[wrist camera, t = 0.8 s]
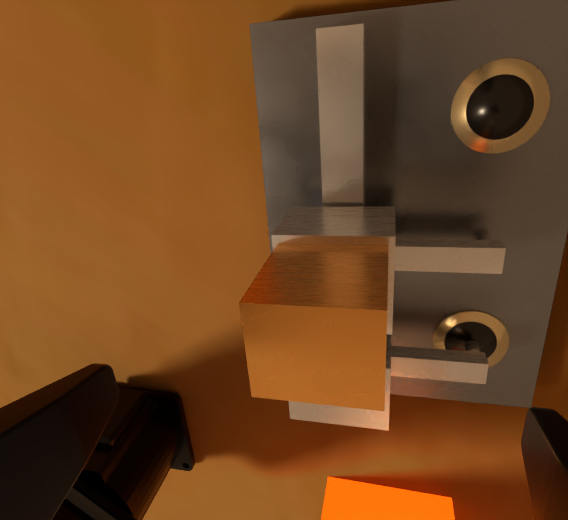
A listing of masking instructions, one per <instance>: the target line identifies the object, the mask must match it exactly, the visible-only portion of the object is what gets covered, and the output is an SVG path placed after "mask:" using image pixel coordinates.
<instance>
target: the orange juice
mask: <svg viewBox="0 0 568 520" xmlns="http://www.w3.org/2000/svg"><path fill="white" fill-rule="evenodd" d="M321 520H455V517H454V510H453V503H452V498H450V497H445V496H439V495H433V494H427V493H421V492H415V491H410V490H404V489H398V488H392V487H386V486H381V485H375V484H369V483H363V482H357V481H351V480H345V479H340V478H334V477H328V479H327V485H326V492H325V498H324V504H323V511H322V517H321Z"/></svg>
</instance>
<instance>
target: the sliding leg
mask: <svg viewBox="0 0 568 520" xmlns="http://www.w3.org/2000/svg"><path fill="white" fill-rule="evenodd" d="M271 238H272V249H273V252H272V253H271V255H270V256H269V258H268V259H267V261H266V262H265V264H264V265H263V267H262V268H261V270H260V271H259V273H258V275H257V276H256V278H255V279H254V281H253V282H252V284H251V285H250V287H249V288H248V290H247V291H246V293H245V294H244V296H243V298H242V299H241V301H240V302H239V306H240V314H241V321H242V329H243V336H244V344H245V351H246V359H247V366H248V374H249V381H250V389H251V396H252V397H257V398H267V399H276V400H285V401H294V402H303V403H312V404H322V405H331V406H340V407H349V408H358V409H367V410H377V411H384V410H385V375H386V340H387V334H391V335H392V326H393V297H394V271H422V272H454V273H486V274H502V271H503V264H504V257H505V251H506V248H505V246H504V245H503V243H502V241H501V240H493V239H492V237H491V236H489V235H481V236H479V237H478V238H477V240H457V239H396V232H395V206H387V207H291V209H290V210H289V211H288V213H287V214H286V215H285V217H284V218H283V220H282V221H281V222H280V224H279V225H278V226H277V228H276V229H275V231H274V232H273V233H272V235H271Z"/></svg>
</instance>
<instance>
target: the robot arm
mask: <svg viewBox="0 0 568 520" xmlns="http://www.w3.org/2000/svg"><path fill="white" fill-rule="evenodd" d="M521 447H522V455H523V460H524V465H525V470H526V475H527V480H528V485H529V490H530V495H531V500H532V505H533V510H534V516H535V520H568V421H567V420H566V419H565V418H564V417H563V416H561V415H560V414H559V413H558V412H557V411H555V410H553V409H547V408H537V407H532V408H529V410H528V411H527V415H526V420H525V425H524V430H523V435H522V441H521ZM194 465H195V460H194V455H193V451H192V446H191V442H190V437H189V432H188V428H187V423H186V419H185V414H184V410H183V405H182V400H181V398H180V396H179V395H178V394H176V393H172V392H163V391H154V390H145V389H136V388H127V387H119V386H117V382H116V379H115V376H114V372H113V369H112V368H111V367H110V366H109V365H107V364H97V363H96V364H91V365H89V366H87V367H84V368H82V369H80V370H78V371H76V372H74V373H72V374H70V375H68V376H66V377H64V378H62V379H60V380H58V381H55V382H53V383H51V384H49V385H47V386H45V387H43V388H41V389H39V390H37V391H35V392H33V393H31V394H29V395H26V396H24V397H22V398H20V399H18V400H16V401H14V402H12V403H10V404H8V405H6V406H4V407H2V408H0V520H142V519H143V517H144V515H145V513H146V512H147V510H148V508H149V506H150V504H151V503H152V501H153V499H154V497H155V495H156V494H157V492H158V490H159V488H160V486H161V485H162V483H163V481H164V479H165V477H166V476H167V474H168V472H169V470H170V468H172V469H178V470H185V471H190V470H192V469H193V467H194Z"/></svg>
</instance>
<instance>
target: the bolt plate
mask: <svg viewBox="0 0 568 520" xmlns="http://www.w3.org/2000/svg"><path fill="white" fill-rule="evenodd" d="M250 34H251V45H252V56H253V67H254V77H255V88H256V99H257V109H258V120H259V131H260V142H261V152H262V163H263V174H264V184H265V195H266V206H267V216H268V227H269V238H270V249H271V253H272V252H273V249H272V238H271V235H272V233H273V232H274V231H275V229H276V228H277V226H278V225H279V224H280V222H281V221H282V220H283V218H284V217H285V215H286V214H287V213H288V211H289V210H290V209H291V207H387V206H395V232H396V239H457V240H477V238H478V237H479V236H481V235H489V236H491V237H492V239H493V240H501V241H502V243H503V245H504V246H505V248H506V251H505V257H504V264H503V271H502V274H486V273H454V272H422V271H394V297H393V326H392V335H391V334H387V340H386V375H385V410H384V411H377V410H367V409H358V408H349V407H340V406H331V405H322V404H312V403H303V402H294V401H289V412H290V419H296V420H304V421H313V422H321V423H329V424H338V425H346V426H354V427H363V428H371V429H380V430H388V431H389V408H390V394H394V395H405V396H415V397H425V398H435V399H445V400H455V401H465V402H475V403H485V404H495V405H505V406H515V407H525V408H531V405H532V400H533V395H534V391H535V386H536V381H537V376H538V371H539V367H540V362H541V357H542V352H543V347H544V342H545V338H546V333H547V328H548V323H549V318H550V314H551V309H552V304H553V299H554V294H555V290H556V285H557V280H558V275H559V270H560V266H561V261H562V256H563V251H564V246H565V242H566V237H567V232H568V0H454V1H446V2H437V3H428V4H419V5H411V6H402V7H393V8H384V9H375V10H367V11H358V12H349V13H340V14H332V15H323V16H314V17H305V18H296V19H288V20H279V21H270V22H261V23H253V24H250Z"/></svg>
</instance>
